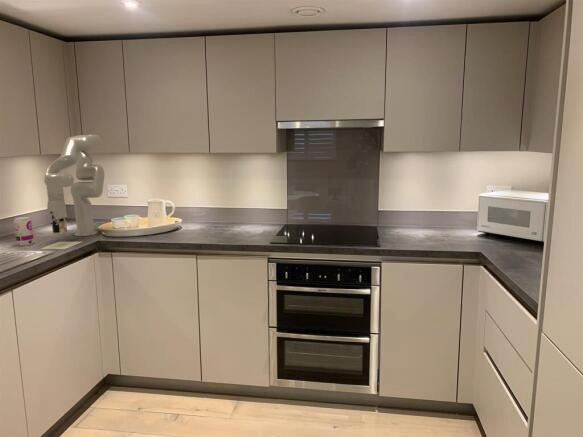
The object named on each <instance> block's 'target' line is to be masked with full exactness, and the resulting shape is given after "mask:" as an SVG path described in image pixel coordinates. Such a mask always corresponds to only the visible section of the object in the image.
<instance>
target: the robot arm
mask: <svg viewBox="0 0 583 437" xmlns="http://www.w3.org/2000/svg"><path fill="white" fill-rule="evenodd" d="M102 144H103V141H102V138H101V137H100V136H99V135H98V134H79V135H74V136H69V137H68V138H67V139H66V140H65V143H64V145H63V148H62V151H61V154H60V156H59V157H58V158H57V159H55V160H54V161H53V162H52V163H51V164H49V166H48V167H47V168H46V172H45V175H44V183H45V185H46V192H47V199H48V200H47V205H46V206H47V211H46V212H47V218H48V222H49V223H50V224H51V226H52V225H53V231H52V233H53V232H54V233H59V232H60V231H59V225H58V221H66V222H67V219H68V212H67V206H66V201H65V194H64V188H68V187H70V193H71V197H72V201H73V206H74V213H75V224H76V232H75V233H74V236H75V237H88V236H94V235H97V234H98V230H96V229H97V228H98V227H99V226H98V225H97V224H94V221H95V220H94V212H93V205H92V202H91V201H90V200H89V198H91V199H94V198H99V197H101V196H102V194H103V191H104V190H103V189H104V181H105V169H104V167H103V166H102V165H101V164H93V162H94V160H93V158H94V157H93V156H92V154H91V153H90V151H91V152H92V151H95V150H96V151H97V150H100V149H101V147H102ZM75 164H76V169H75V178H76V179H77V180H78V181H77V182H75V178H74V176H73V175H72V174H71V173H67V172H61V171H62V170H65V169H67V168H69V167H72V166H74V165H75Z"/></svg>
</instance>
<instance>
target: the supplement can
mask: <svg viewBox="0 0 583 437" xmlns="http://www.w3.org/2000/svg"><path fill="white" fill-rule="evenodd" d="M13 226H14V233H15V240H16V245H17V246H18V247H26V246H31V245H33V244H34V243H35V237H34V231H33V225H32V219H31V217H30V216H20V217H15V218H14V220H13Z"/></svg>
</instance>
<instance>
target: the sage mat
mask: <svg viewBox="0 0 583 437" xmlns="http://www.w3.org/2000/svg"><path fill="white" fill-rule="evenodd" d="M81 243H83V241H58V242H55V243H52V244H50V245H47V246H44V247H41V248H40V250H67V249H69V248H71V247H74V246H77V245H79V244H81ZM66 248H67V249H66Z"/></svg>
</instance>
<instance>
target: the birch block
mask: <svg viewBox="0 0 583 437" xmlns="http://www.w3.org/2000/svg"><path fill="white" fill-rule="evenodd" d="M58 225H59V231H60V232H59V233H54V232H53V225H52V224H51V229H52V234H53V235H62V234H66V233H68V228H67V226H68V225H67V220H66V221H60V220H58Z"/></svg>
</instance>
